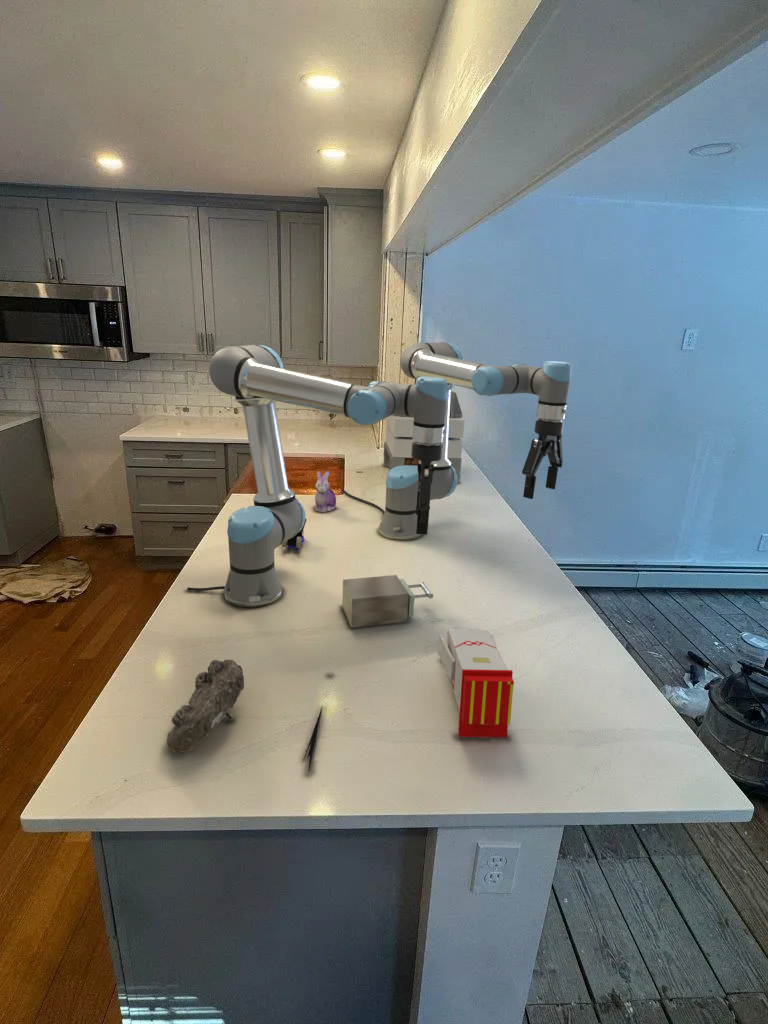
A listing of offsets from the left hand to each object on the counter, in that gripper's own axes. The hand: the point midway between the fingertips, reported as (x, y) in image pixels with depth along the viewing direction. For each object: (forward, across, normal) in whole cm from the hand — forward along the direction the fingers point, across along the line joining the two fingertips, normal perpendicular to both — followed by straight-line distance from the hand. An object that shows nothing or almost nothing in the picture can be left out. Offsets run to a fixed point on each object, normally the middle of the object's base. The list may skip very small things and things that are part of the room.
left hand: (421, 524), depth 145 cm
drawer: (+22, -5, +6) cm, 23 cm away
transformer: (+23, +130, -2) cm, 132 cm away
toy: (+23, -36, -11) cm, 44 cm away
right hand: (-4, +22, -34) cm, 41 cm away
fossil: (+23, -49, +39) cm, 67 cm away
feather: (+23, -48, +18) cm, 56 cm away
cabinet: (+23, -7, +11) cm, 26 cm away
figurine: (+24, +71, +35) cm, 83 cm away
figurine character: (+24, +34, +40) cm, 57 cm away
